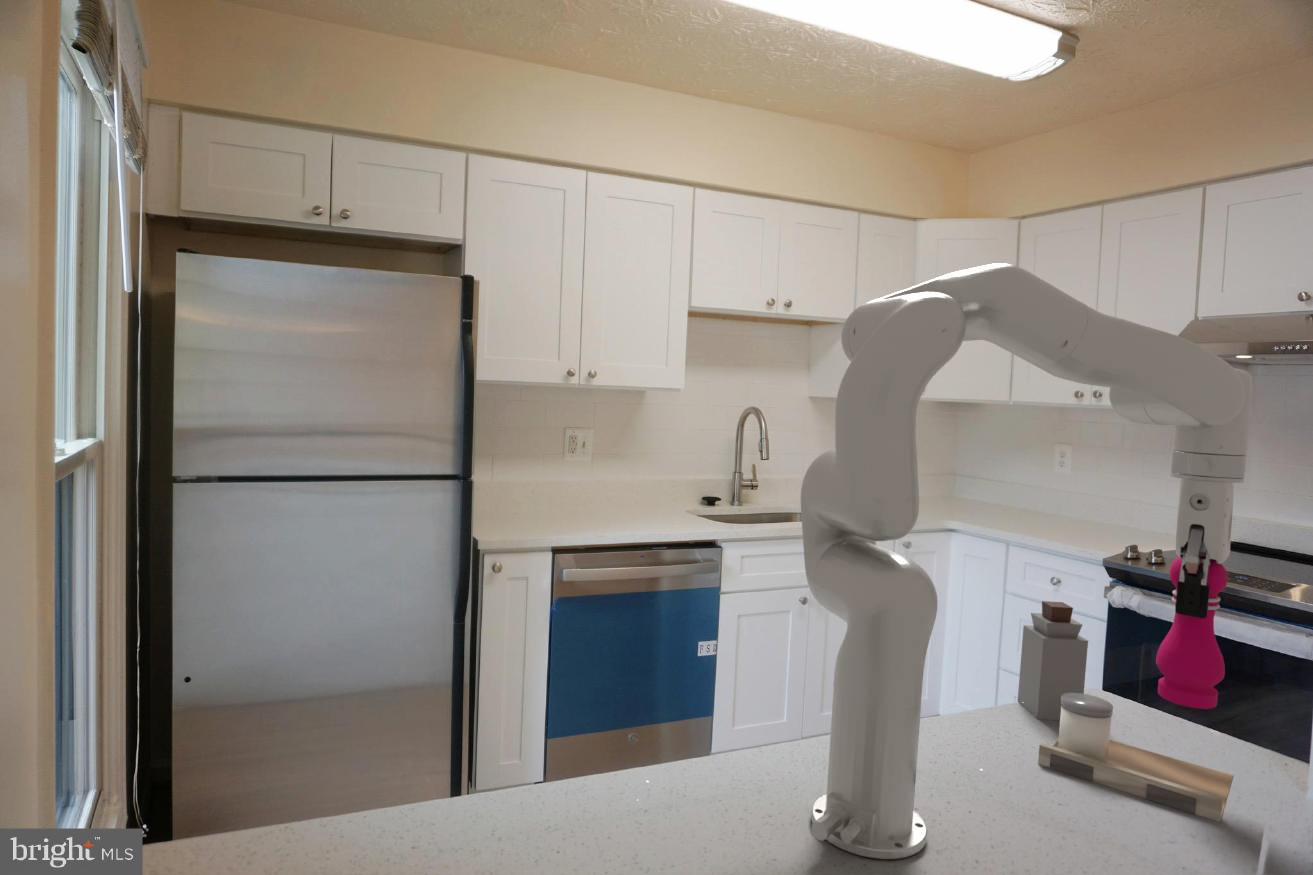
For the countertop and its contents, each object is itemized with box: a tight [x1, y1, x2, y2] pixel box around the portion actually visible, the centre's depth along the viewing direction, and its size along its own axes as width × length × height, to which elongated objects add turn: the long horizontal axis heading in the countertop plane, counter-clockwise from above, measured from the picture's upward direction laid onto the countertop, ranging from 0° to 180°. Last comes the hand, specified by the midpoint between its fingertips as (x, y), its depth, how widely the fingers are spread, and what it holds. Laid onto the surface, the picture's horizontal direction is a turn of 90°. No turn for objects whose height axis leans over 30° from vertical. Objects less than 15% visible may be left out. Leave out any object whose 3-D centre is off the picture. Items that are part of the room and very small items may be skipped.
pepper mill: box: [1155, 556, 1228, 710], centre depth 100 cm, size 7×7×20 cm
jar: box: [1057, 693, 1114, 762], centre depth 108 cm, size 6×6×8 cm
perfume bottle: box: [1017, 600, 1089, 721], centre depth 124 cm, size 7×7×18 cm
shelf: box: [1037, 739, 1234, 823], centre depth 105 cm, size 16×20×4 cm
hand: (1194, 609), depth 99 cm, fingers closed on pepper mill, 5 cm apart
